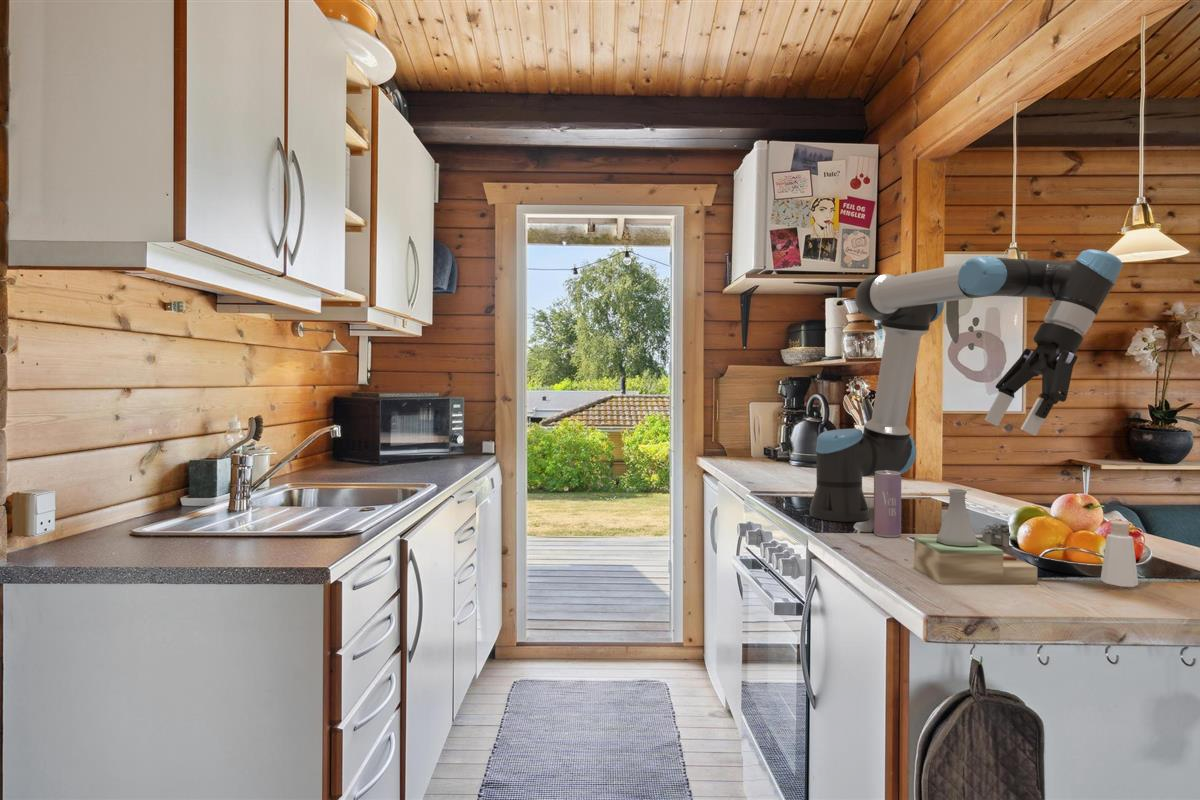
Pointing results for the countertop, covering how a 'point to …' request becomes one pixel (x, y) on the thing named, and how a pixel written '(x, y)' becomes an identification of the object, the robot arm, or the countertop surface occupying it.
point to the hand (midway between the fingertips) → (1008, 427)
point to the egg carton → (996, 534)
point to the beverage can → (887, 504)
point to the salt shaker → (1119, 557)
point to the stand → (970, 564)
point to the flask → (957, 522)
